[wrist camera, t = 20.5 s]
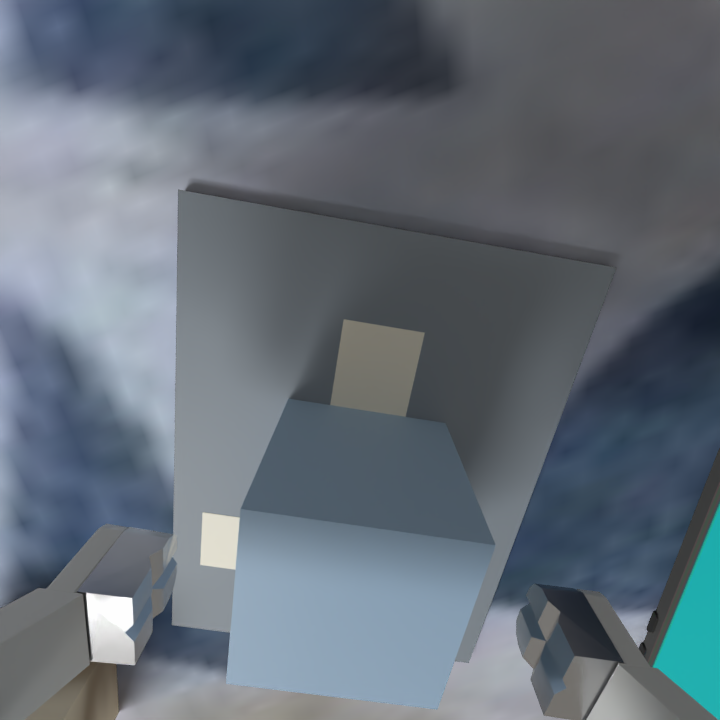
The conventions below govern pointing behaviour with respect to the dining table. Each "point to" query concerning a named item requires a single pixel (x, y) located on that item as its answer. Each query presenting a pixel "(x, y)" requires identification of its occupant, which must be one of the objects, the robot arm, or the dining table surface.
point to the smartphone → (692, 607)
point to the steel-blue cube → (356, 558)
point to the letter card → (360, 363)
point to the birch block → (84, 696)
